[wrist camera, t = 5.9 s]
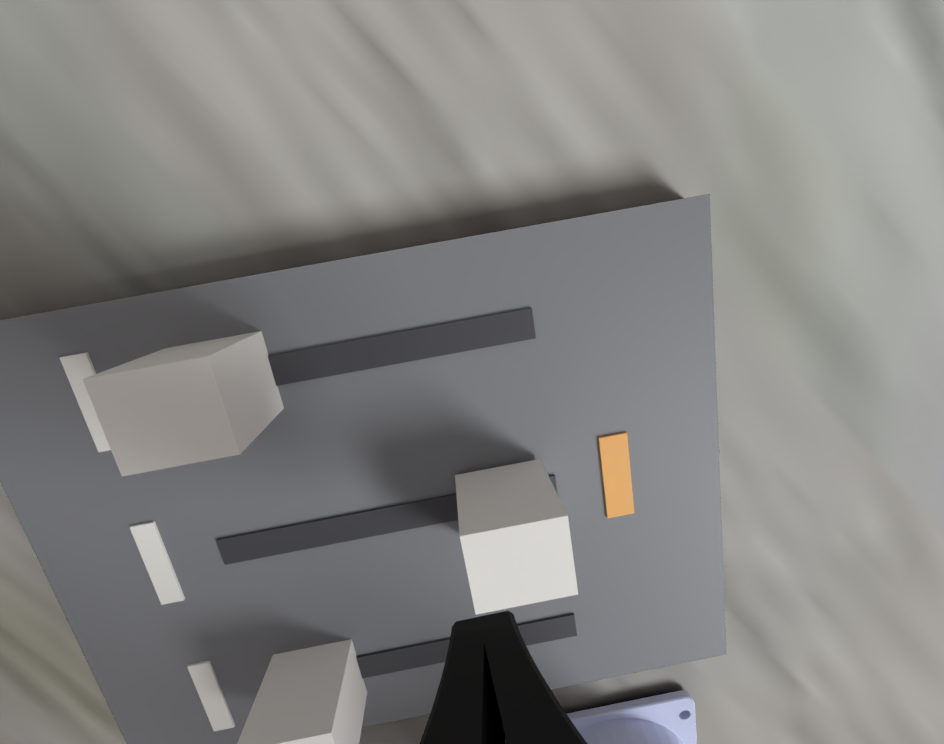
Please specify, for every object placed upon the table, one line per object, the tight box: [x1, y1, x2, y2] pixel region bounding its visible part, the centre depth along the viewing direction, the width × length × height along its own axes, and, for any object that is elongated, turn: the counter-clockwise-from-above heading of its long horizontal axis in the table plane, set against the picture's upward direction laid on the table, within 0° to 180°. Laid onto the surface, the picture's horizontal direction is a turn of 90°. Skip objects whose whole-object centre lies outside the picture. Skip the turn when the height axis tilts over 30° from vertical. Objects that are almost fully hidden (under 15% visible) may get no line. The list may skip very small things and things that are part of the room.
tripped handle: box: [455, 459, 578, 615], centre depth 15 cm, size 3×3×4 cm
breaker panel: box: [0, 194, 726, 744], centre depth 16 cm, size 18×24×5 cm
